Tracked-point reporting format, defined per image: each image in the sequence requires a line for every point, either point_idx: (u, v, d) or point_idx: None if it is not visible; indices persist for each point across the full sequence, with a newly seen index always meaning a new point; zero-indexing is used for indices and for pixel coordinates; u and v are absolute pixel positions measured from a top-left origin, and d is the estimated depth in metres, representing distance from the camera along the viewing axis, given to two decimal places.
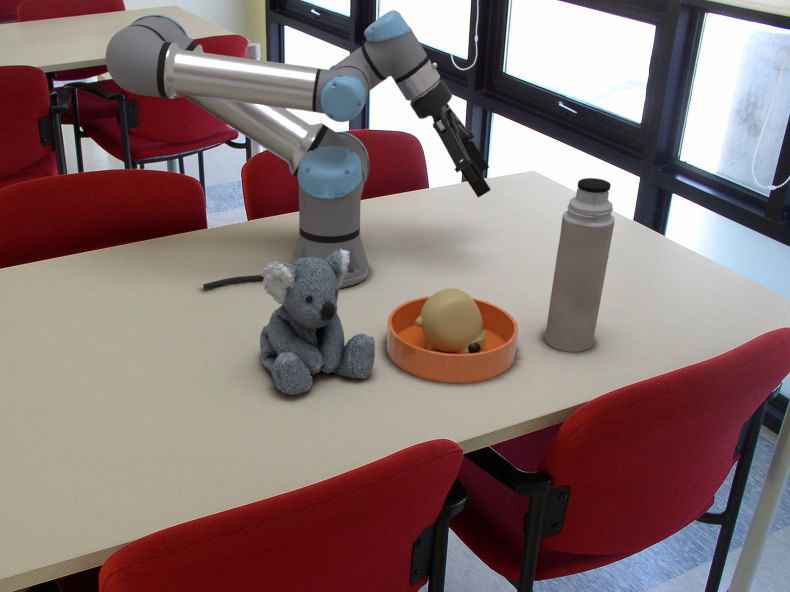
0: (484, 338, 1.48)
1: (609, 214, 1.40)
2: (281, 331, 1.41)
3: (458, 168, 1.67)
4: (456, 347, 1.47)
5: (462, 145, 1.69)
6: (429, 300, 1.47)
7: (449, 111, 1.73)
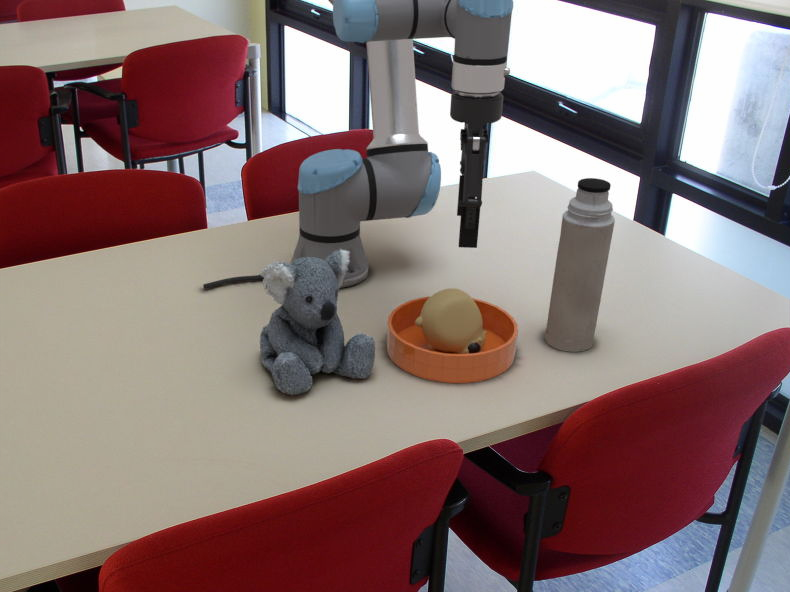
0: (484, 338, 1.48)
1: (609, 214, 1.40)
2: (281, 331, 1.41)
3: (465, 204, 1.29)
4: (456, 347, 1.47)
5: None
6: (429, 300, 1.47)
7: (484, 132, 1.34)
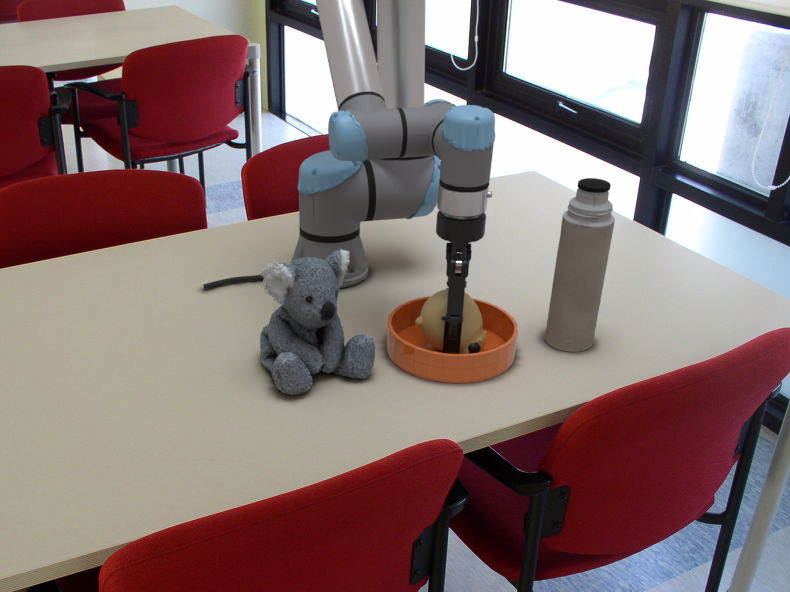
0: (484, 338, 1.48)
1: (609, 214, 1.40)
2: (281, 331, 1.41)
3: (447, 321, 1.40)
4: None
5: None
6: (429, 300, 1.47)
7: (468, 245, 1.43)
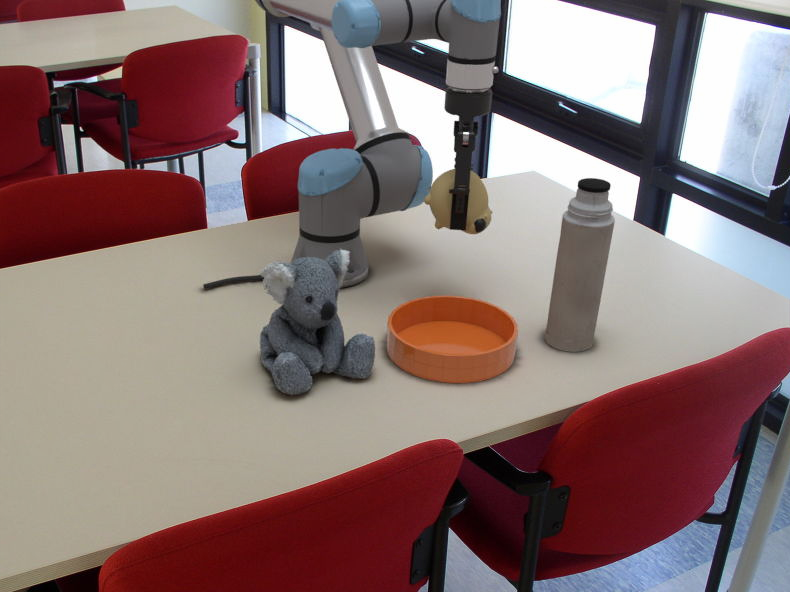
0: (490, 216, 1.55)
1: (609, 214, 1.40)
2: (281, 330, 1.41)
3: (455, 192, 1.47)
4: None
5: None
6: (437, 178, 1.54)
7: (475, 123, 1.50)
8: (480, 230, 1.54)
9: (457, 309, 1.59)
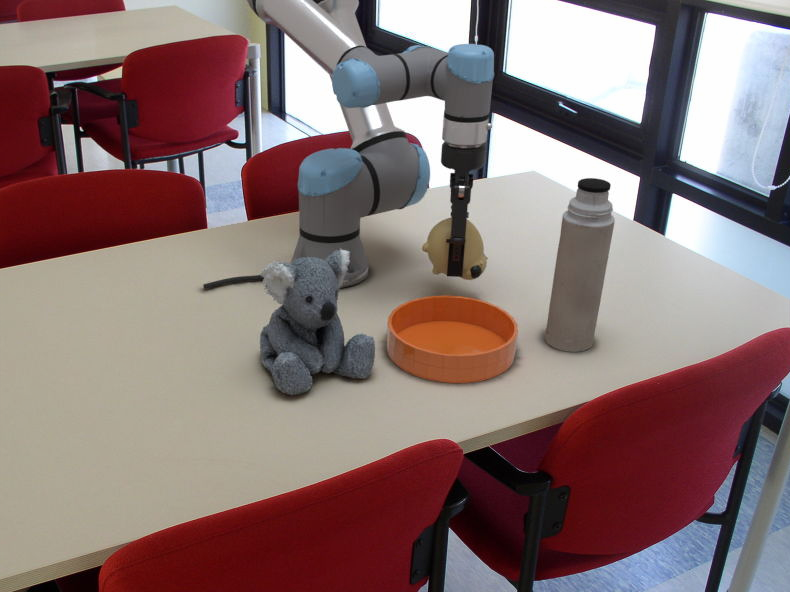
0: (485, 262, 1.62)
1: (609, 214, 1.40)
2: (281, 331, 1.41)
3: (452, 242, 1.54)
4: None
5: None
6: (435, 227, 1.61)
7: (470, 175, 1.57)
8: (476, 276, 1.61)
9: (457, 309, 1.59)
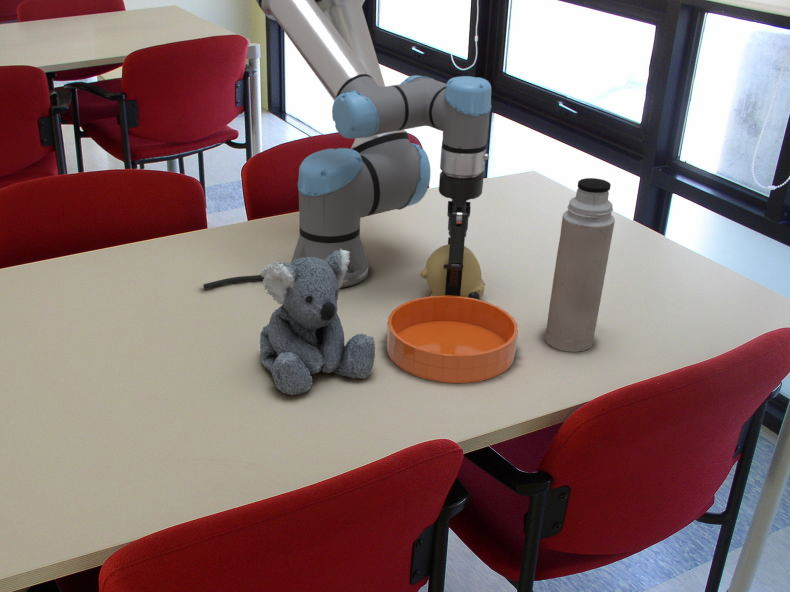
0: (483, 288, 1.65)
1: (609, 214, 1.40)
2: (281, 331, 1.41)
3: (449, 268, 1.55)
4: None
5: None
6: (433, 254, 1.64)
7: (468, 204, 1.60)
8: None
9: (457, 309, 1.59)
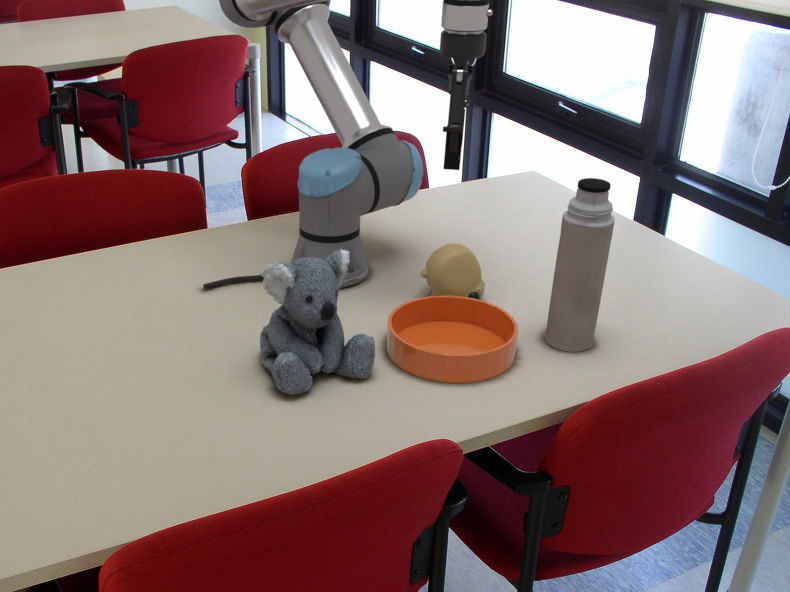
0: (483, 288, 1.65)
1: (609, 214, 1.40)
2: (281, 331, 1.41)
3: (448, 129, 1.48)
4: None
5: None
6: (433, 254, 1.64)
7: (470, 67, 1.53)
8: None
9: (457, 309, 1.59)
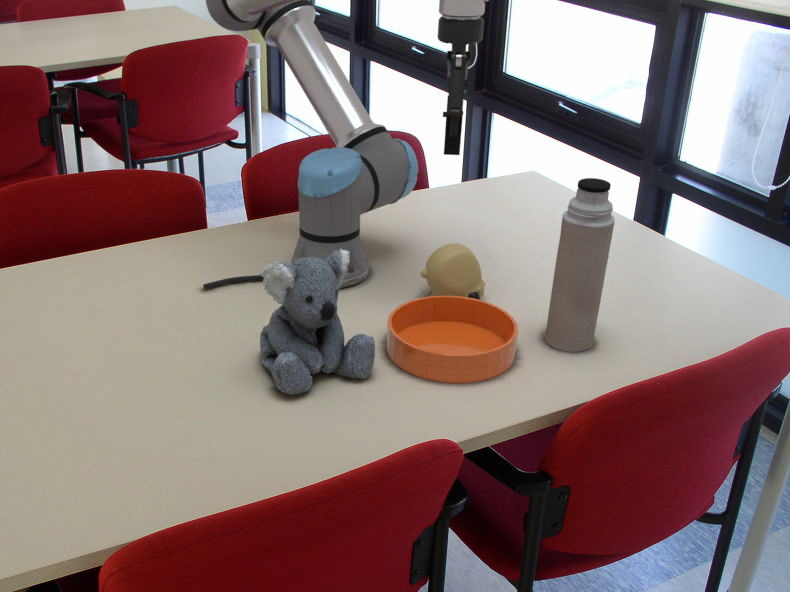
0: (483, 288, 1.65)
1: (609, 214, 1.40)
2: (281, 331, 1.41)
3: (449, 113, 1.49)
4: None
5: None
6: (433, 254, 1.64)
7: (468, 53, 1.54)
8: None
9: (457, 309, 1.59)
